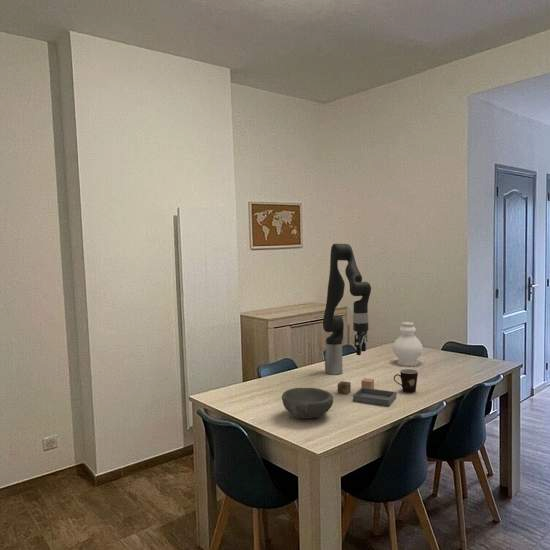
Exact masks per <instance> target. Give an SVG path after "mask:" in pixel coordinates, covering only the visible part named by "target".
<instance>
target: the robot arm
mask: <svg viewBox="0 0 550 550" xmlns="http://www.w3.org/2000/svg"><path fill="white" fill-rule="evenodd" d="M330 248H331V249H330V258H329V262H330V263H329V276H328V282H327V283H328V284H327V294H326V302H325V308H324V313H323V318H322V328H323V330H324V332H326V333H331V334H330V335H329V336H328V337H326V339H325V350H326V351H325V352H326V353H325V356H324V369H325V370H324V372H325V374H328V375H341V374H343V370H344V369H343V340H344V327H345V326H344V319H343V317H342V316H341V315H339V314H335V311H336V308H337V307H338V305H339V304H340V302H341V301H342V299H343V297H344V294H345V285H346V284H345V280H344V278H343V276H342V274H341V272H340V270H339V265H338V264H339V263H338V262H339V261H342V262H343V261H347V265H346V267H345V272H344V273H345V276H346V278H347V280H348V283H349V284H348V285H349V292H350V295H351V296H353V297H361V298H360V299H357V300H355V301H354V302H353V315H352V323H353V324H352V326H353V327H352V329H353V331H354V332H356V334H354V341H353V342H354V348H355V350H356V351H355V354H356V356H361V355H362V352H365V353H366V351H367V343H368V331H369V315H368V311H369V309H368V304H369V300H370V296H371V291H372V286H371V284H370V282H368V281H363V276H362V275H361V272H360V271H359V268H358V266H357V262H356V258H355V254H354V251H353V249H352V248H353V247H352V246H351V245H350V244H348V243H333V244H332V245H331V247H330Z"/></svg>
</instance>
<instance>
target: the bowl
mask: <svg viewBox="0 0 550 550" xmlns="http://www.w3.org/2000/svg"><path fill="white" fill-rule="evenodd" d="M281 402H282V404H283V407H284V408H285V409H286V411H287V412H288V413H289V414H290V415H292V416H294V417H295V418H299V419H312V418H313V419H314V418H318V417H321V416H323V415H325V414H326V413H328V412H329V410H330V409H331V408H332V406H333V404H334V396H333V394H332V393H331V392H329V391H327V390H325V389H320V388H315V387H295V388H290V389H287V390H285V391H284V392H282V394H281Z"/></svg>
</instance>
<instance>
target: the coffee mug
mask: <svg viewBox="0 0 550 550" xmlns="http://www.w3.org/2000/svg"><path fill="white" fill-rule="evenodd" d="M418 374H419V371H418V370H417V369H413V368H412V369H411V368H404V369H400V374H398V373H397V374H395V375H393V380H394V382H395V383H396V384H398V385H400V386H401V388H402V392H404V393H406V394H412V393H416V391H417V386H418V385H417V384H418V383H417V382H418V377H419V376H418ZM398 376H399V378H400V381H401V383H400V382H398V381H397V380H396V377H398Z"/></svg>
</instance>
